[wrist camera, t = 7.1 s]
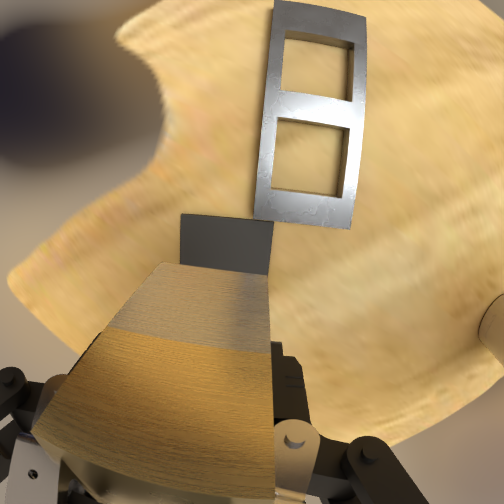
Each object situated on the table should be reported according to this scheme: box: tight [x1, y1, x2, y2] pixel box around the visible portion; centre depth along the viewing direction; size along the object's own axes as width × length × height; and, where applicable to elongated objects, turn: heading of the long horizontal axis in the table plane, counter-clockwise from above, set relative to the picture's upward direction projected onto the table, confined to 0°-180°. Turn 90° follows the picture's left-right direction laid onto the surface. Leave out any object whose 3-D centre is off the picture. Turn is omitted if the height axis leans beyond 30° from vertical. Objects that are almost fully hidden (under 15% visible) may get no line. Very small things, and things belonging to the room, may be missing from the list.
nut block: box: [30, 262, 275, 504], centre depth 8 cm, size 4×4×9 cm
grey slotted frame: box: [253, 0, 367, 230], centre depth 22 cm, size 9×22×2 cm, turn 175°
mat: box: [180, 214, 274, 277], centre depth 28 cm, size 9×9×1 cm
